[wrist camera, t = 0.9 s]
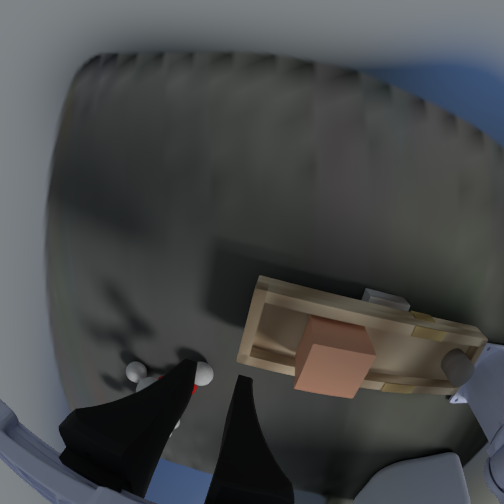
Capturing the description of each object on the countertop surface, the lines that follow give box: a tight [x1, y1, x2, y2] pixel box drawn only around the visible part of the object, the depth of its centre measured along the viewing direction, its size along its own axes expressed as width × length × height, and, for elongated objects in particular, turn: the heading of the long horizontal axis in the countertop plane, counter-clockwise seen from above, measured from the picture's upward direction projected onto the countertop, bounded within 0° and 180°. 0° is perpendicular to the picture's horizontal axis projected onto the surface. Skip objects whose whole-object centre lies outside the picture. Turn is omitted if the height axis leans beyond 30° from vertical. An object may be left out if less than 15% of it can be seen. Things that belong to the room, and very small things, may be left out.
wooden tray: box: [236, 275, 489, 395], centre depth 19 cm, size 20×7×5 cm, turn 77°
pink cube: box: [294, 314, 376, 399], centre depth 17 cm, size 4×4×4 cm
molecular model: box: [126, 361, 213, 436], centre depth 22 cm, size 16×8×10 cm, turn 154°
